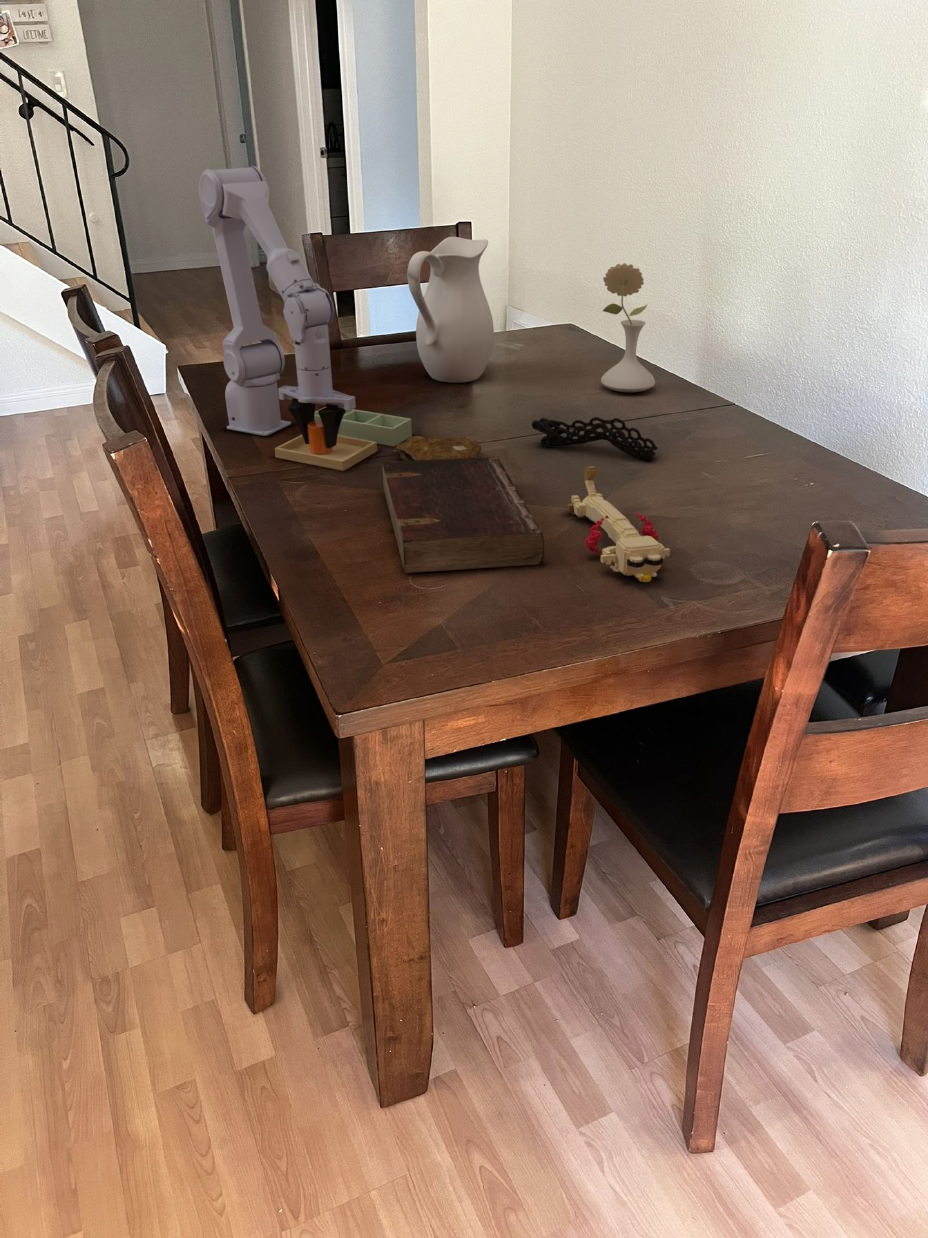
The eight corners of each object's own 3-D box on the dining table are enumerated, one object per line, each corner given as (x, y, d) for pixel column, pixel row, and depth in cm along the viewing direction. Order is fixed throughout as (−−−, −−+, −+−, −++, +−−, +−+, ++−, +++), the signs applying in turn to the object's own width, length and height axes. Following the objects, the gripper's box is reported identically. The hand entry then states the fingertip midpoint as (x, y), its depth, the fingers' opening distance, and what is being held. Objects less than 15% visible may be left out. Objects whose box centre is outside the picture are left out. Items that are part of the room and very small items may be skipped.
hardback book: (543, 564, 121) (544, 530, 118) (404, 575, 118) (403, 541, 116) (499, 483, 145) (499, 454, 143) (383, 491, 143) (382, 461, 140)
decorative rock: (392, 477, 149) (482, 479, 149) (391, 454, 147) (483, 456, 147) (395, 449, 158) (480, 451, 159) (395, 427, 156) (481, 429, 157)
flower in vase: (662, 386, 192) (676, 262, 179) (641, 400, 184) (654, 271, 171) (606, 377, 198) (616, 257, 185) (584, 390, 190) (592, 265, 177)
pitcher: (447, 362, 210) (446, 233, 195) (508, 373, 201) (510, 240, 187) (381, 386, 193) (374, 247, 179) (444, 399, 184) (442, 255, 170)
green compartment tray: (310, 431, 168) (308, 414, 166) (329, 421, 173) (328, 404, 171) (394, 446, 161) (393, 428, 159) (411, 435, 165) (411, 418, 164)
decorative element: (658, 455, 156) (661, 422, 153) (650, 464, 152) (654, 430, 149) (537, 438, 164) (538, 406, 161) (527, 446, 160) (528, 414, 157)
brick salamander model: (553, 522, 135) (611, 587, 113) (554, 465, 132) (615, 522, 110) (615, 516, 137) (684, 579, 115) (619, 460, 133) (691, 515, 111)
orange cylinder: (305, 452, 157) (302, 424, 154) (318, 445, 160) (316, 418, 157) (324, 456, 155) (321, 428, 152) (337, 449, 158) (335, 421, 156)
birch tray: (275, 457, 156) (274, 448, 155) (311, 438, 164) (310, 429, 163) (343, 470, 150) (343, 461, 150) (377, 450, 159) (376, 441, 158)
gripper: (263, 366, 150) (272, 444, 157) (336, 377, 144) (342, 458, 151) (289, 357, 155) (297, 432, 162) (360, 367, 149) (365, 445, 156)
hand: (320, 444), depth 157 cm, fingers closed on orange cylinder, 4 cm apart
